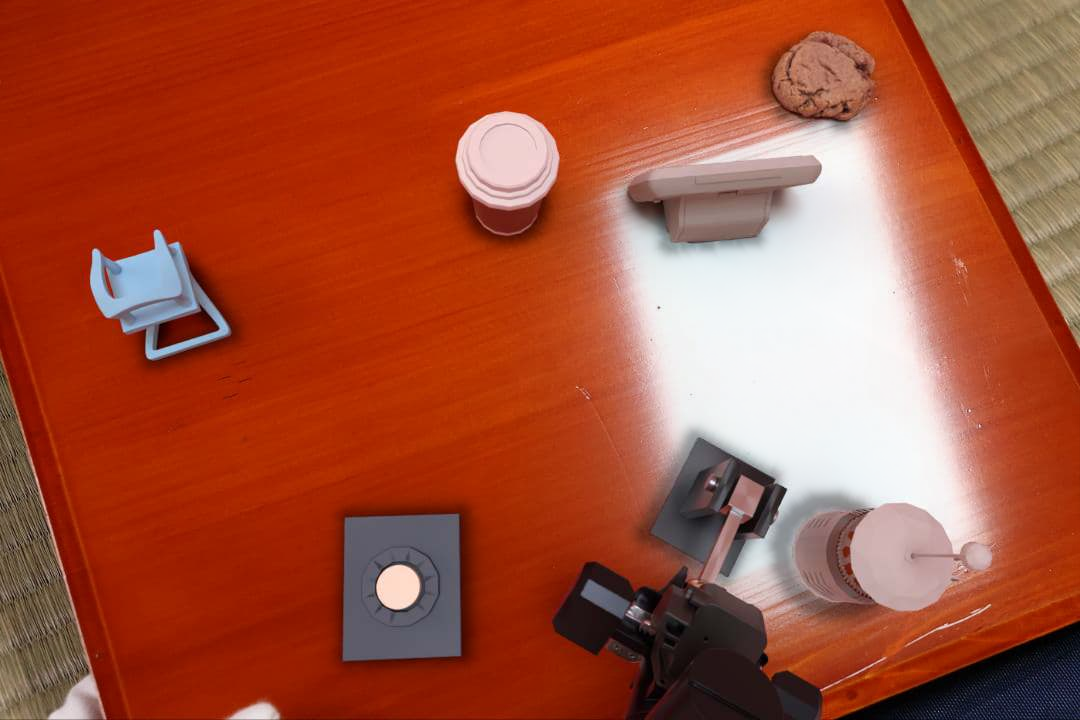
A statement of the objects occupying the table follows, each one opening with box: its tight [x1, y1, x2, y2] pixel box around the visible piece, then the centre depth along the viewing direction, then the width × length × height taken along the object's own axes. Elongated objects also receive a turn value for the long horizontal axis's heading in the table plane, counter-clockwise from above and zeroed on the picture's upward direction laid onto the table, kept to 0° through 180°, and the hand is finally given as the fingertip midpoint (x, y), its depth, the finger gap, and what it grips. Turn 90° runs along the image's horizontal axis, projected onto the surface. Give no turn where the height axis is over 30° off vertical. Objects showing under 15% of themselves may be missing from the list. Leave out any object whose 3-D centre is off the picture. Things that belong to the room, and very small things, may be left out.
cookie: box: [770, 30, 876, 121], centre depth 89 cm, size 10×11×3 cm
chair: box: [89, 229, 232, 361], centre depth 76 cm, size 8×8×12 cm
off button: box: [376, 565, 422, 610], centre depth 73 cm, size 4×4×2 cm
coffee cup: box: [454, 110, 561, 237], centre depth 80 cm, size 9×9×12 cm
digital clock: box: [627, 154, 823, 244], centre depth 81 cm, size 16×9×11 cm, turn 85°
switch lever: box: [682, 475, 765, 589], centre depth 68 cm, size 12×3×3 cm, turn 151°
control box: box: [342, 513, 463, 662], centre depth 75 cm, size 12×10×4 cm
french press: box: [791, 502, 993, 612], centre depth 67 cm, size 10×12×25 cm
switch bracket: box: [648, 436, 788, 578], centre depth 74 cm, size 10×8×12 cm
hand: (702, 580), depth 68 cm, fingers closed on switch lever, 3 cm apart
